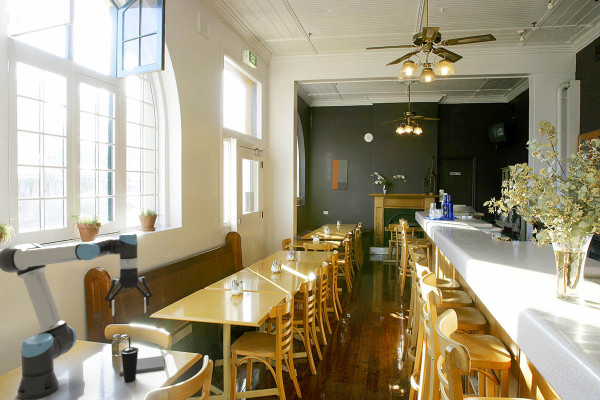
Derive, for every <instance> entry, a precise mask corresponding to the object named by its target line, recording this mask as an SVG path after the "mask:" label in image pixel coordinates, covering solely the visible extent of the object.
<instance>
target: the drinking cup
mask: <svg viewBox="0 0 600 400" xmlns="http://www.w3.org/2000/svg"><path fill="white" fill-rule="evenodd" d="M120 354H121V363H122V364H123V373H124V375H123V380H124V382H125V383H132V382H134V381H136V380H137V373H136V369H137V359H138V355H139V348H138V347H134V346H131V335H130V336H128V347H125V348H123V349H121V350H120Z"/></svg>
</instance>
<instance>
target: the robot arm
mask: <svg viewBox="0 0 600 400" xmlns="http://www.w3.org/2000/svg"><path fill="white" fill-rule="evenodd" d="M107 255H108V256H109V255H119V267H120V268H119V278H115V277H114V278H112V281H111V286H110V287H109V290H108V291H107V293H106V295H105V297H104V301H108V306H109V307H108V308H109V309H111V316H112V317H114V316H115V300H114V299H115V298H116V296H117V295H119V293H120V292H121V291H122V290H123V288H124V289H133V288H135V289H137V291H138V292H139V293H140V294H141V295H142V296H143V297H144V298H143V303H144V304H143V308H144V310H143V311H144V313H143V314H146V313H147V306H149V303H150V300H149V298H152V297H153V291H152V290H151V289H150V287H149V285H148V283H147V282H146V277H145V276H142V277H139V275H138V274H139V271H138V269H139V268H138V263H139V262H138V261H139V260H138V259H139V258H138V235H137V233H132V232H131V233H130V232H129V233H127V232H126V233H121V234H119V237H97V238H95V239H94V240H90V241H84V242H75V243H67V244H62V245H53V246H42V244H39V243H35V242H28V243H23V244H18V245H17V244H16V245H14V246H8V247H6V248H3V249H2V250H1V251H0V270H1V271H3V272H5V273H9V274H12V273H13V274H14V273H16V274H17V277H18V278H20V279H22V280H23V282H24V285H25V288H26V290H27V293H28V296H29V299H30V302H31V305H32V307H33V311H34V313H35V315H36V318H37V322H38V324H39V326H40V327H39V328H40V329H39V331H38V332H37V333H38V334H35V335H31V336H29V337H27V338H26V339H24V341H22V344H21V350H20V352H21V372H22V373H21V379H20V382H19V385H18V388H17V398H18V399H19V400H20V399H21V400H36V399H37V400H38V399H40V398H44V397H47V396H50V395H52V394H54V393H55V392H56V391H58V390H59V387H60V386H59V379H58V378H57V376H56V373H55V369H54V367H55V366H54V360H56V359H57V358H59V357H60V356H62V355H64V354H66V353H67V352H69V351H70V350H71V349H73V348H74V346H75V344H76V342H77V333H76V331H75V329H74V327H71V325H68V323H67V321H66V320H63V319H62V318H61V315H60V313H59V310H58V308H57V304H56V301H55V299H54V296H53V293H52V291H51V288H50V285H49V283H48V282H49V281H48V279H47V276H46V274H45V270H46V269H47V265H54V264H55V265H56V264H61V263H62V264H63V263H69V262H77V261H90V260H91V261H92V260H94V259H97V258H100V257H104V256H107ZM139 281H140V283H142V285H143V286H144V288H145V289H146V291H145V290H144V289H143V288H142V287H141V286H140V285H139ZM118 283H119V284H120V285H119V287H118V288H117V289H116V290H115V292H113V294H112V291H113V289H114V288H115V285H117V284H118ZM111 294H112V295H111Z"/></svg>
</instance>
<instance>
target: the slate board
mask: <svg viewBox="0 0 600 400" xmlns="http://www.w3.org/2000/svg"><path fill="white" fill-rule="evenodd" d="M161 370H162V371H163V370H165V357H164V355H159V356H151V357H143V358H137V369H136V374H138V373H147V372H153V371H161ZM119 376H124V373H123V364H122V362H120V368H119Z"/></svg>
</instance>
